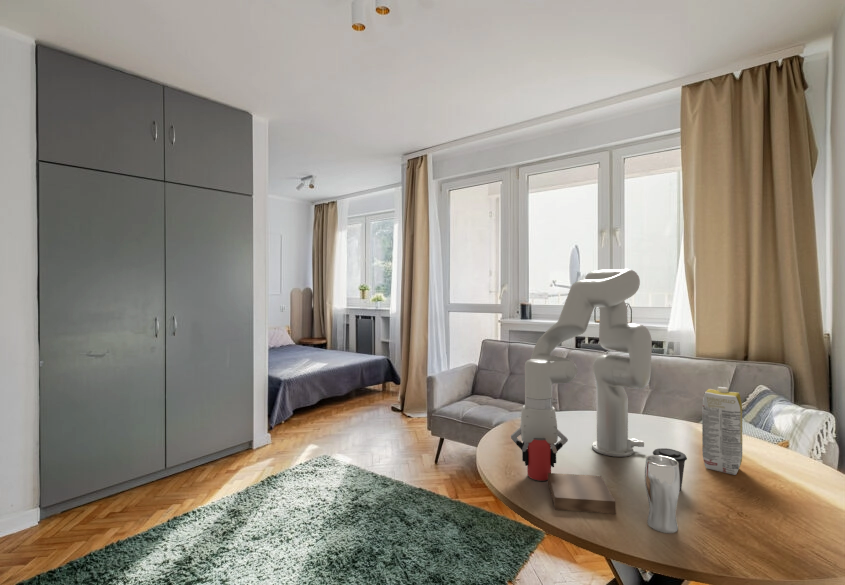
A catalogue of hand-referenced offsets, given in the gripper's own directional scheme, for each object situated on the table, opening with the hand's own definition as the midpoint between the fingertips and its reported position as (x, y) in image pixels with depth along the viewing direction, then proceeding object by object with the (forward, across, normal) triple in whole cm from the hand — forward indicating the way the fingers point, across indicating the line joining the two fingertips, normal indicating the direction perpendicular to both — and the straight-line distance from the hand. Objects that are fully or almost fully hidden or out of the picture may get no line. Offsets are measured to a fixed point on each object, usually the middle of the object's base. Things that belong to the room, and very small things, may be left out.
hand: (539, 464), depth 124 cm
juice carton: (+4, -54, -13) cm, 56 cm away
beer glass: (+4, -25, +22) cm, 34 cm away
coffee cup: (+4, -34, +2) cm, 34 cm away
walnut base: (+4, -9, +11) cm, 15 cm away
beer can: (+4, 0, 0) cm, 4 cm away
